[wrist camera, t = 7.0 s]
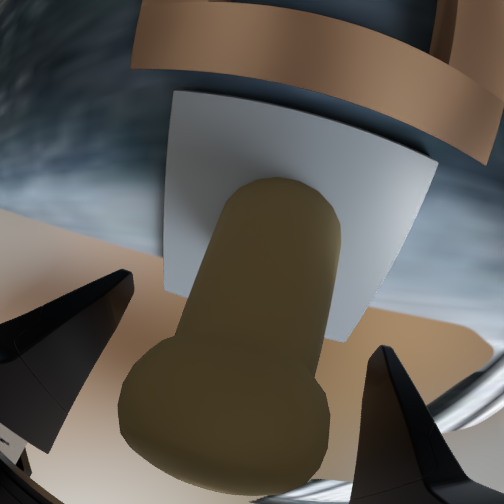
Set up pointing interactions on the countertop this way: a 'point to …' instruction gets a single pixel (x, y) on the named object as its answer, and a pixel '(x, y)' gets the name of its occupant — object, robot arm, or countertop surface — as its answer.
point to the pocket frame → (345, 60)
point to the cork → (244, 351)
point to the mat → (296, 168)
